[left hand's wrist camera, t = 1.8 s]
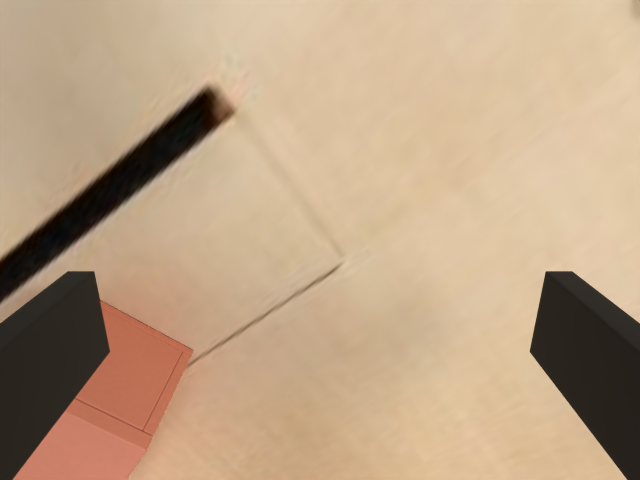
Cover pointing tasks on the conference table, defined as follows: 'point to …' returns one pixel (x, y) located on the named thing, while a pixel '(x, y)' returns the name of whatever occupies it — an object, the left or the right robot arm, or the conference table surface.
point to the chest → (135, 372)
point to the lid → (86, 448)
